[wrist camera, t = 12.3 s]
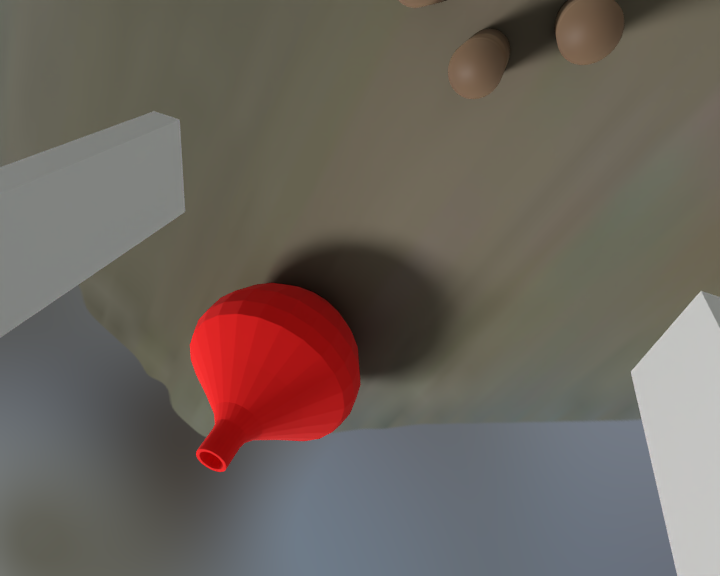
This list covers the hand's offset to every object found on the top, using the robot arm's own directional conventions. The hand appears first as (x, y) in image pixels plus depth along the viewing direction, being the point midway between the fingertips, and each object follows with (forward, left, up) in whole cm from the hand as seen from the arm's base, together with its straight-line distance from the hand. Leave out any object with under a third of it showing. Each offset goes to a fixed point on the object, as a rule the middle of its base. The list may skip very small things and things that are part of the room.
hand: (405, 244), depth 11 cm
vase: (+16, -29, -27) cm, 43 cm away
